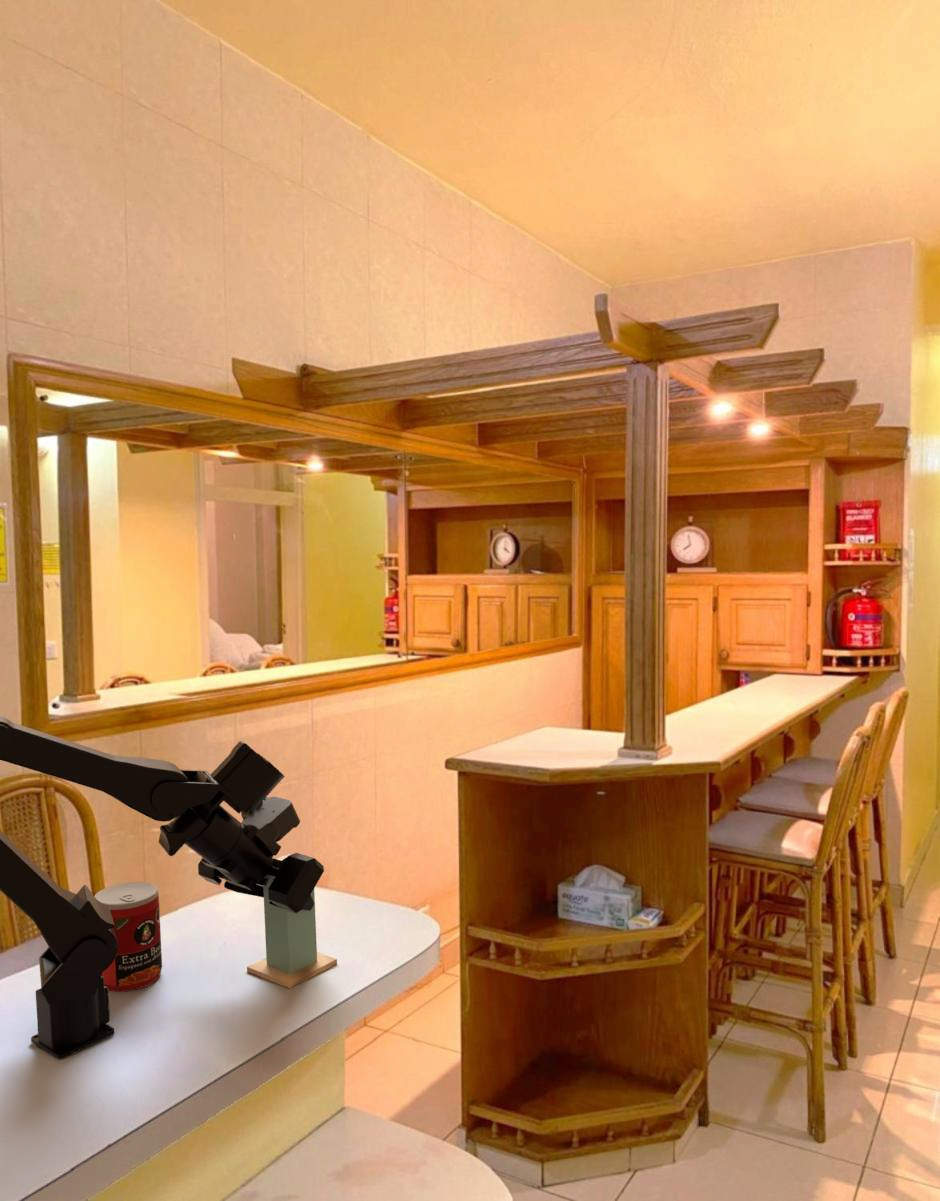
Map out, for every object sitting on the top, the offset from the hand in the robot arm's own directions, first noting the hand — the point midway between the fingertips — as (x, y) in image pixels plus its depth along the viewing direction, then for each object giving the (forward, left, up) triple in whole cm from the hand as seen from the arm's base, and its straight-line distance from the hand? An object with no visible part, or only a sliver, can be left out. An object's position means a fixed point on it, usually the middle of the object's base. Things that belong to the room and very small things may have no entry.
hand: (297, 902), depth 118 cm
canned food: (-15, +15, -8) cm, 23 cm away
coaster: (-1, 0, -8) cm, 8 cm away
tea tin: (-1, 0, -7) cm, 8 cm away
